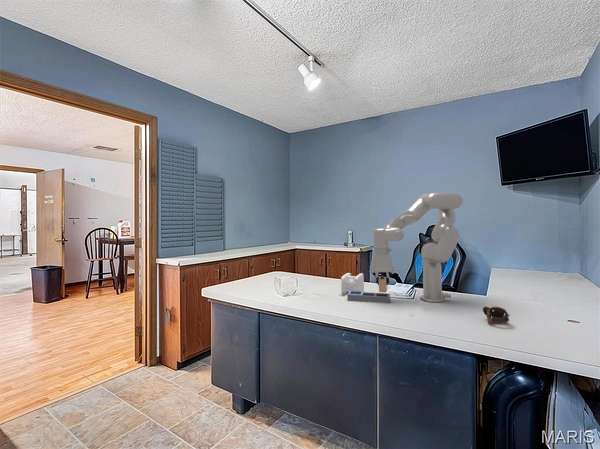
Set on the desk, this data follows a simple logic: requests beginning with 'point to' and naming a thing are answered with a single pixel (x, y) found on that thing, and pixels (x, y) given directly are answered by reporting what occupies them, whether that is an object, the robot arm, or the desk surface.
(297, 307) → the desk surface
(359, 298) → the grey compartment tray
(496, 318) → the brown turtle figurine
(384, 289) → the plug
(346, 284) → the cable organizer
